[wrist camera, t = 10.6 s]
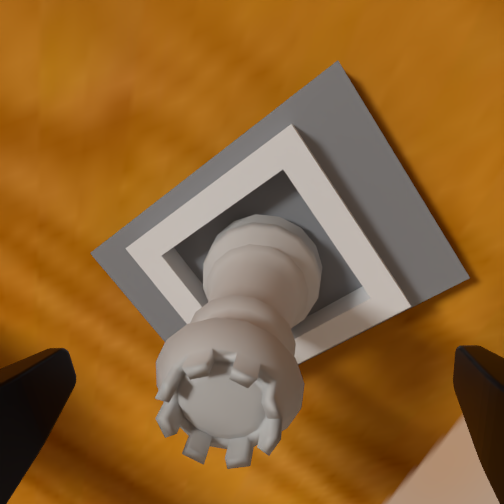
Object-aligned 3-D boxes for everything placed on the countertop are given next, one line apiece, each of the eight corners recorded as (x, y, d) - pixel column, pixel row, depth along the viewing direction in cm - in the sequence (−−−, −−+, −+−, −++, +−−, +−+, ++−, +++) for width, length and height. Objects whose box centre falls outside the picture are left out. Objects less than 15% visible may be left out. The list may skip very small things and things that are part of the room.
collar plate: (222, 390, 18) (211, 424, 16) (102, 245, 16) (73, 263, 14) (459, 268, 14) (484, 292, 12) (335, 65, 13) (341, 53, 11)
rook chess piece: (219, 319, 16) (136, 499, 8) (200, 216, 14) (79, 320, 7) (326, 314, 15) (343, 508, 7) (317, 205, 13) (328, 308, 6)
